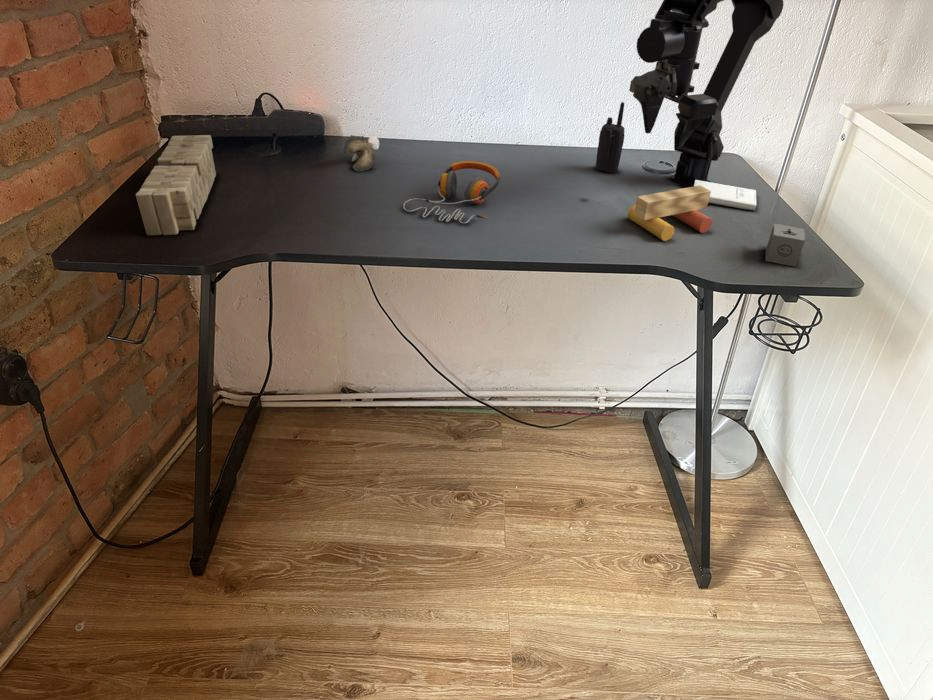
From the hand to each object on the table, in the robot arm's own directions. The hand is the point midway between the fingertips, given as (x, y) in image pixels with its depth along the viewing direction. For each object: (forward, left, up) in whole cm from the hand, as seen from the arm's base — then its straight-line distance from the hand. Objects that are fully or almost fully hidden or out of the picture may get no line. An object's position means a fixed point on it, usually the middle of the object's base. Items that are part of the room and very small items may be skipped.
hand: (662, 140), depth 134 cm
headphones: (+38, -12, -12) cm, 42 cm away
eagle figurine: (+49, -39, -12) cm, 64 cm away
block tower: (+87, -31, -12) cm, 93 cm away
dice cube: (-5, +30, -12) cm, 33 cm away
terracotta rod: (+1, +12, -12) cm, 17 cm away
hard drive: (-14, +6, -12) cm, 19 cm away
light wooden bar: (+5, +12, -9) cm, 16 cm away
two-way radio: (0, -16, -12) cm, 20 cm away
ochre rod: (+10, +12, -12) cm, 20 cm away
